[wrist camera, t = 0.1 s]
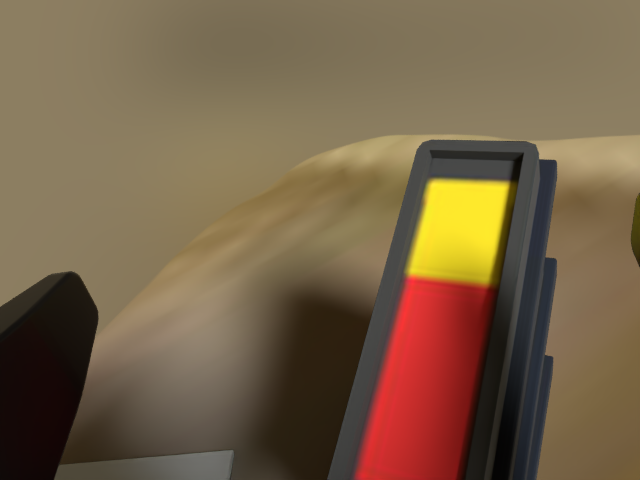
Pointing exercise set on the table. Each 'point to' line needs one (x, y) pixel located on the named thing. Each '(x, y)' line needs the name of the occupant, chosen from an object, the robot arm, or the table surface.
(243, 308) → the table surface
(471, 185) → the black stepped slab
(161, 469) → the mat
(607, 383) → the table surface
